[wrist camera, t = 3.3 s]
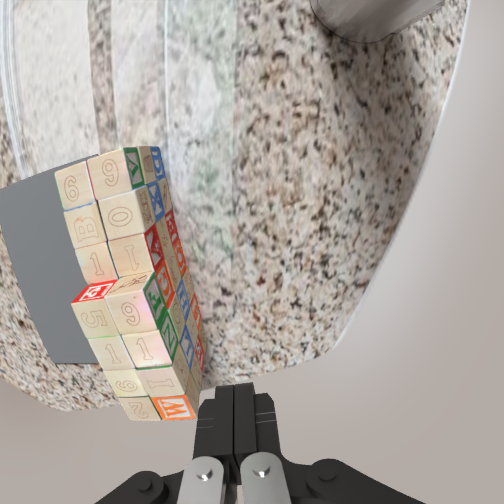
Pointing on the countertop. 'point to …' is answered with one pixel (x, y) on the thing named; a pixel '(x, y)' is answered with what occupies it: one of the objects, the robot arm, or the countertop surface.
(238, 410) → the robot arm
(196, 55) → the countertop surface
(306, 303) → the countertop surface
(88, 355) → the mat
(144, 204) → the stack of blocks
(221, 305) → the countertop surface
